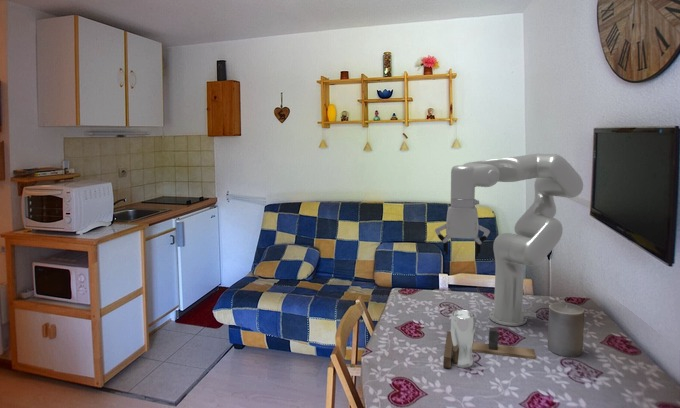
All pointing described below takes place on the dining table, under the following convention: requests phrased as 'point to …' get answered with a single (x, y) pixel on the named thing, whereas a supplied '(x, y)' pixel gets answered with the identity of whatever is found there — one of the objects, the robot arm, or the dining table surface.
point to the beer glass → (462, 337)
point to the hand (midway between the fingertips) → (461, 254)
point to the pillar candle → (565, 329)
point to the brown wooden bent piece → (488, 348)
